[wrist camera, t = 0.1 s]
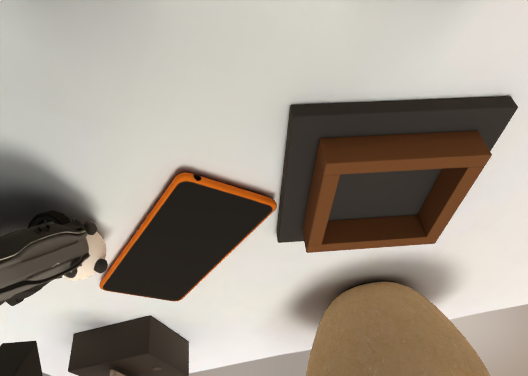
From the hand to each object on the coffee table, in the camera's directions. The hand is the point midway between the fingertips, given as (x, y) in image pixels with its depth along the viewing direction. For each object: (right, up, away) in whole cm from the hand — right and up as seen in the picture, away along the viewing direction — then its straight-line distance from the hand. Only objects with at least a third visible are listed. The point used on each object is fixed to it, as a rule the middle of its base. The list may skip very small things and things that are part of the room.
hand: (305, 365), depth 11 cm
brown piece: (+7, +6, +19) cm, 21 cm away
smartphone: (-8, 0, +23) cm, 24 cm away
